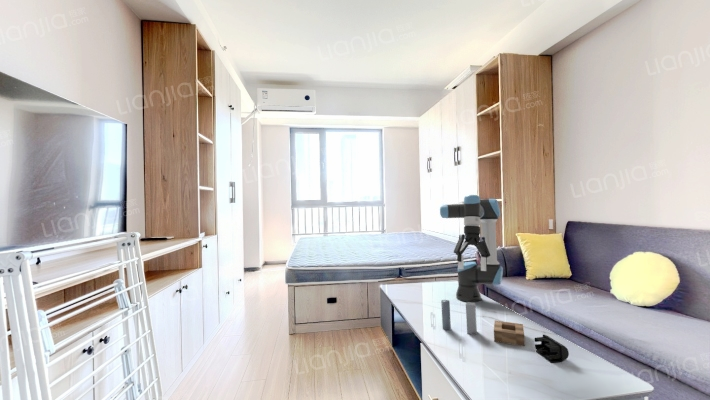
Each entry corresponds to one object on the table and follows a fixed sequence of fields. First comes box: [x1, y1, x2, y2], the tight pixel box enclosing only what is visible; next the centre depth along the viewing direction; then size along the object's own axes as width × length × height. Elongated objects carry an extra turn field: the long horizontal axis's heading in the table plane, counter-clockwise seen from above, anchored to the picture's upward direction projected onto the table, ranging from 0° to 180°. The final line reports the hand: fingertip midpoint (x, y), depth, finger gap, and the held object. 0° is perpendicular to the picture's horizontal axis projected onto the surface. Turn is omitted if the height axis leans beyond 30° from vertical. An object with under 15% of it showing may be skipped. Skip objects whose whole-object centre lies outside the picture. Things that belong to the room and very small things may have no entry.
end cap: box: [534, 334, 570, 364], centre depth 117 cm, size 10×7×7 cm
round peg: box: [440, 299, 452, 331], centre depth 147 cm, size 4×4×14 cm
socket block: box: [493, 320, 526, 347], centre depth 134 cm, size 12×12×5 cm
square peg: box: [465, 302, 478, 336], centre depth 141 cm, size 4×4×14 cm
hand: (472, 270), depth 139 cm, fingers open, 13 cm apart
